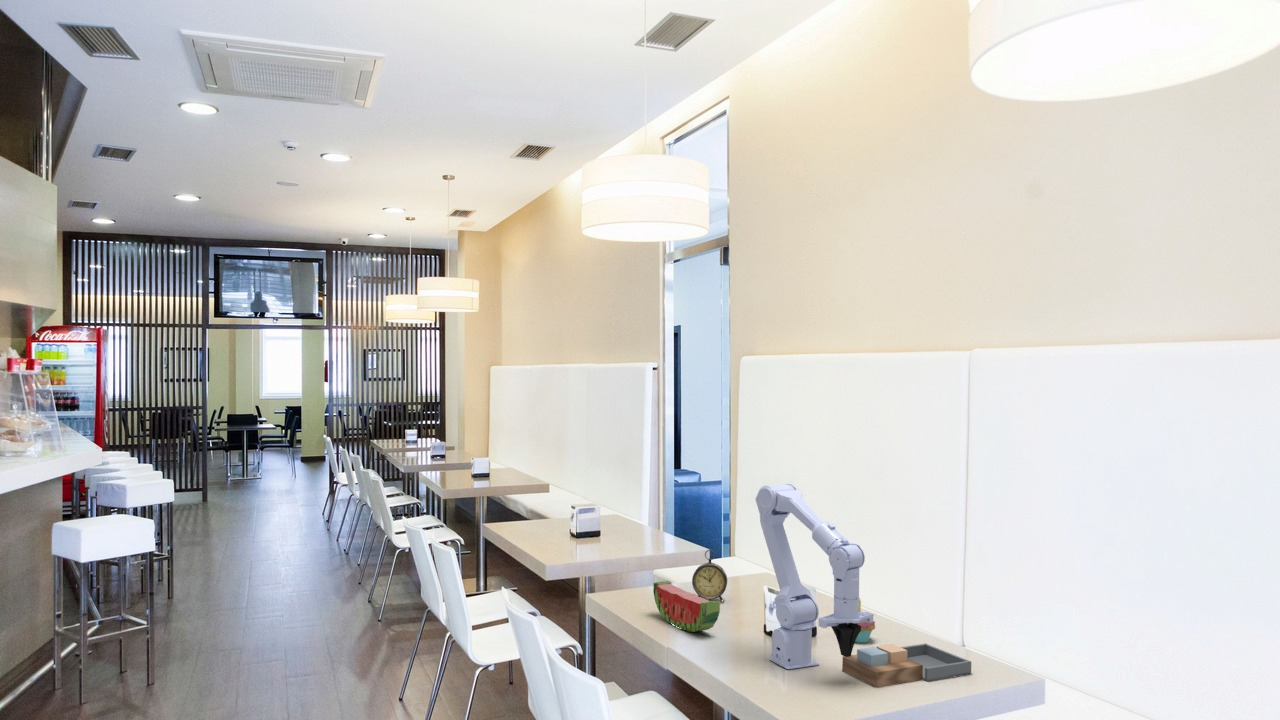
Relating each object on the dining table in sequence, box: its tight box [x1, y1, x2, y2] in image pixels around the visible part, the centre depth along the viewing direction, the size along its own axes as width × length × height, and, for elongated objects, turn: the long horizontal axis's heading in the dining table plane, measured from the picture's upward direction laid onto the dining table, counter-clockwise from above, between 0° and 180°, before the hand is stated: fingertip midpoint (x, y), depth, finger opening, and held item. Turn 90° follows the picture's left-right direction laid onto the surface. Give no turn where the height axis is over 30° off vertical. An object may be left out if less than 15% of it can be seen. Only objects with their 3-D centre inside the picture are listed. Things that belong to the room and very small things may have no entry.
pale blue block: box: [856, 646, 888, 667], centre depth 196 cm, size 5×5×3 cm
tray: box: [900, 643, 972, 682], centre depth 203 cm, size 14×15×3 cm
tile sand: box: [876, 643, 907, 664], centre depth 199 cm, size 5×5×3 cm
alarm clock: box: [691, 549, 728, 601], centre depth 263 cm, size 11×5×16 cm, turn 81°
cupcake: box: [855, 597, 876, 644], centre depth 225 cm, size 9×8×12 cm
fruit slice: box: [652, 580, 721, 633], centre depth 234 cm, size 26×6×10 cm, turn 31°
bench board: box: [841, 653, 923, 688], centre depth 198 cm, size 14×12×3 cm
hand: (845, 655), depth 193 cm, fingers closed
